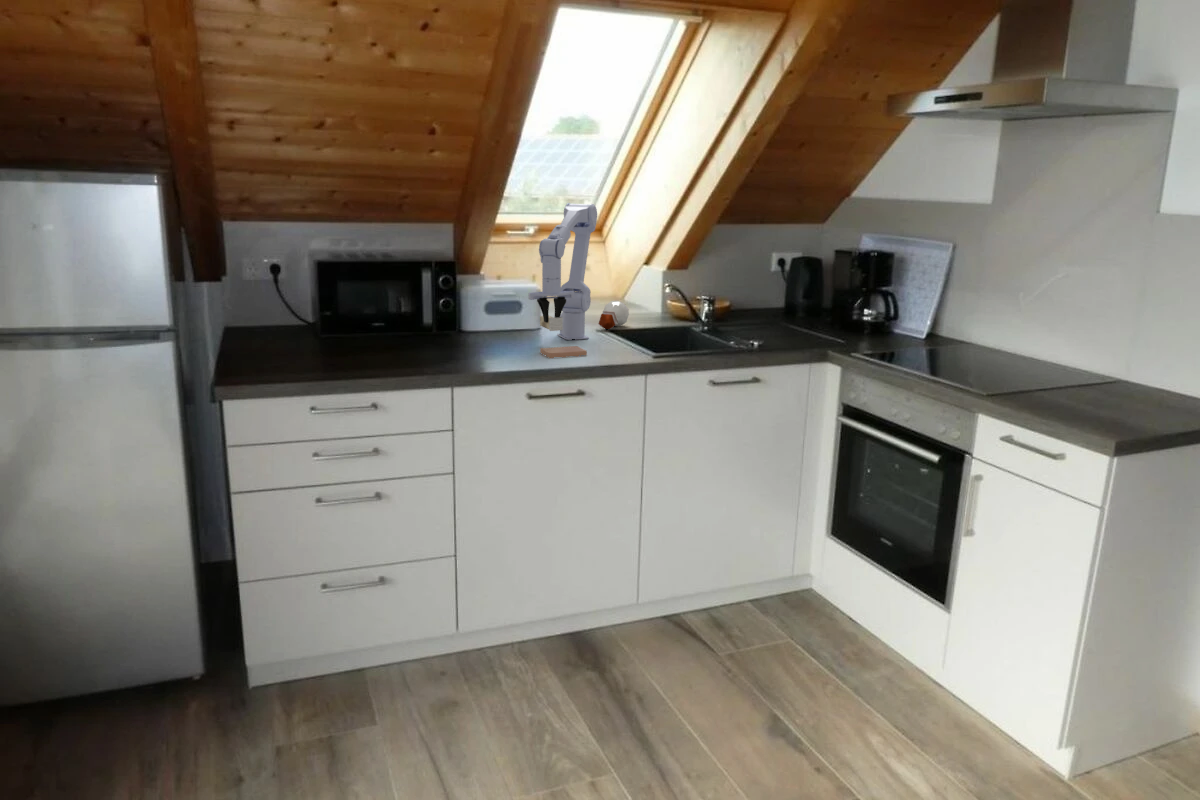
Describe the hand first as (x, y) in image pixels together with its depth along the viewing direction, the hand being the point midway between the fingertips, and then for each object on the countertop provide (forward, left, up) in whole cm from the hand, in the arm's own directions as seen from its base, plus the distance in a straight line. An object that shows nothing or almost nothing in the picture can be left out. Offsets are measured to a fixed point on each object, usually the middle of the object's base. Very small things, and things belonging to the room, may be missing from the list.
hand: (551, 321), depth 275 cm
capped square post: (-1, 0, -2) cm, 3 cm away
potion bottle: (-27, +34, -9) cm, 44 cm away
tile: (+7, 0, -8) cm, 10 cm away
